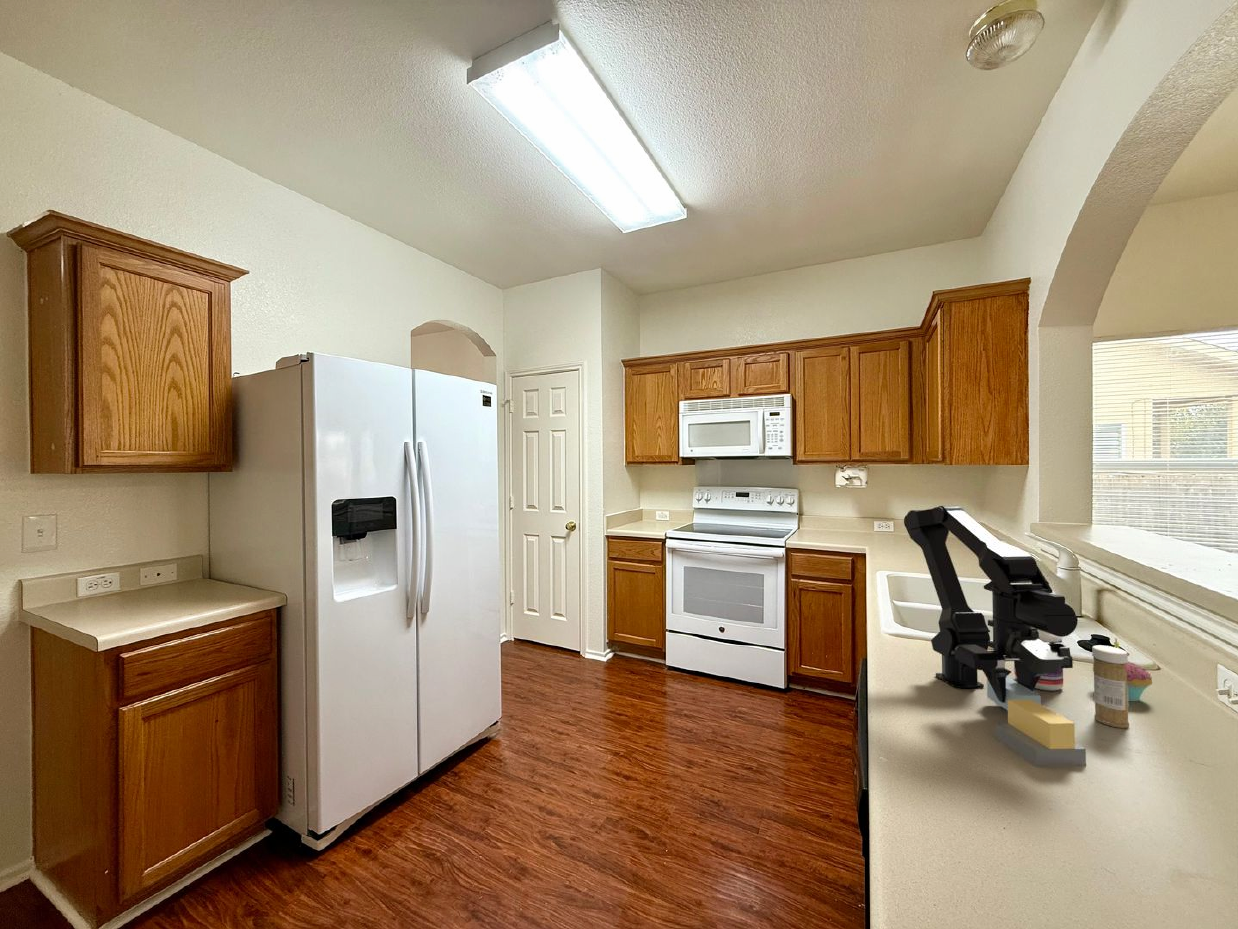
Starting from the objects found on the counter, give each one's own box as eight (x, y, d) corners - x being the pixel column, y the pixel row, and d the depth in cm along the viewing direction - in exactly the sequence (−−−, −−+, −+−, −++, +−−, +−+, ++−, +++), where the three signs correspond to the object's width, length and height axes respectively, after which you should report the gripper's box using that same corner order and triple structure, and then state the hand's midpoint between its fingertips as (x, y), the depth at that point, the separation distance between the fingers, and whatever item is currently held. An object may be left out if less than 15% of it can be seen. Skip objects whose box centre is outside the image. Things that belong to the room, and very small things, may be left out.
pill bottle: (1068, 686, 104) (1067, 618, 104) (1056, 696, 99) (1055, 625, 100) (1021, 673, 111) (1020, 609, 111) (1008, 682, 106) (1006, 616, 106)
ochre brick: (1008, 723, 84) (1007, 699, 84) (1030, 722, 85) (1030, 699, 85) (1050, 749, 76) (1049, 723, 76) (1074, 748, 77) (1074, 723, 77)
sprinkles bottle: (1132, 724, 88) (1130, 649, 89) (1125, 732, 86) (1123, 655, 86) (1097, 714, 92) (1096, 642, 92) (1090, 721, 90) (1088, 647, 90)
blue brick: (987, 697, 97) (987, 677, 97) (1008, 697, 96) (1008, 677, 96) (1018, 717, 89) (1018, 695, 89) (1041, 718, 88) (1041, 695, 88)
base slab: (995, 741, 84) (995, 723, 84) (1040, 740, 84) (1040, 722, 84) (1036, 769, 76) (1036, 750, 76) (1086, 768, 76) (1085, 748, 76)
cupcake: (1142, 709, 94) (1141, 647, 94) (1084, 692, 101) (1083, 634, 101) (1159, 699, 98) (1157, 639, 98) (1102, 683, 105) (1101, 627, 105)
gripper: (998, 634, 84) (1000, 725, 84) (1102, 632, 85) (1104, 722, 85) (952, 615, 95) (953, 695, 95) (1044, 613, 96) (1046, 693, 96)
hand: (1013, 701), depth 92 cm, fingers closed on blue brick, 4 cm apart
